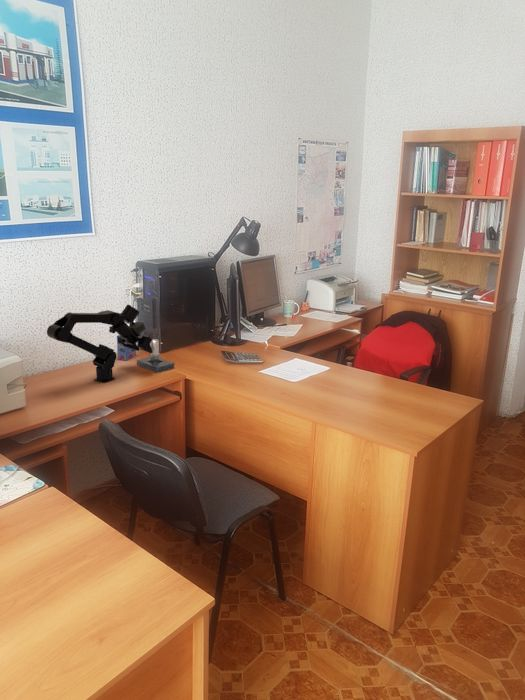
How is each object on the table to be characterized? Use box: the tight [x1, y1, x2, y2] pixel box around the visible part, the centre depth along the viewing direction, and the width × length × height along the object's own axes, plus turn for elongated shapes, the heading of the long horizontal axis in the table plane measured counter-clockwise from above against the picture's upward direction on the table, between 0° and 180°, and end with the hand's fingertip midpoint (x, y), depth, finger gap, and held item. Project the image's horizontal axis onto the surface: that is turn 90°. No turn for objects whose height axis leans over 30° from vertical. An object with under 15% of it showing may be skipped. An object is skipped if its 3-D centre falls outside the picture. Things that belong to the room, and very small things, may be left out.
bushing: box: [149, 338, 160, 364], centre depth 262 cm, size 4×4×13 cm
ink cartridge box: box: [116, 334, 137, 361], centre depth 275 cm, size 10×6×14 cm, turn 163°
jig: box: [136, 356, 175, 374], centre depth 263 cm, size 10×16×2 cm, turn 46°
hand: (145, 351), depth 258 cm, fingers open, 9 cm apart
